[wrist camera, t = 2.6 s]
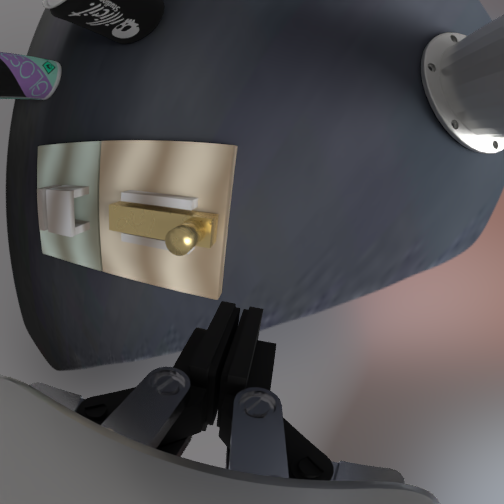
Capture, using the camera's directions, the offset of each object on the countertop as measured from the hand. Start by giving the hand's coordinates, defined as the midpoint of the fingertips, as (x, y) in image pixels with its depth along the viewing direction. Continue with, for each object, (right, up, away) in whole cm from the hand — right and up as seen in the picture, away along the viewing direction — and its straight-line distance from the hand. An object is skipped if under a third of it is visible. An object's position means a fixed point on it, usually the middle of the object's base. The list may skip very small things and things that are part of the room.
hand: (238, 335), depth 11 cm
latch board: (-14, +8, +15) cm, 22 cm away
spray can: (-26, +25, +11) cm, 38 cm away
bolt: (-7, +6, +13) cm, 16 cm away
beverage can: (-11, +28, +8) cm, 31 cm away
